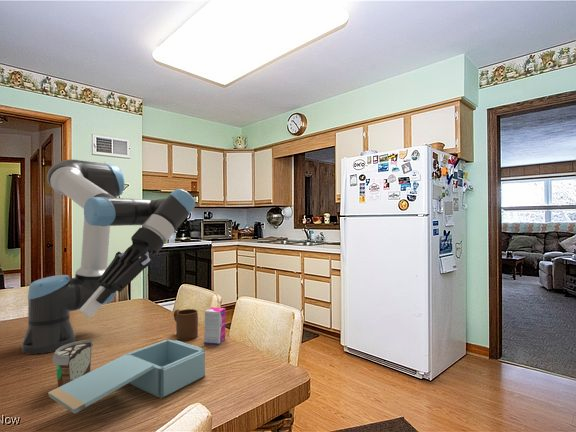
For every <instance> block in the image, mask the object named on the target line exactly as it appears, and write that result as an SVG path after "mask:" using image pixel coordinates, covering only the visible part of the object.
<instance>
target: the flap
mask: <svg viewBox="0 0 576 432" xmlns="http://www.w3.org/2000/svg"><path fill="white" fill-rule="evenodd" d="M127 354H128V353H125V354H123V355H121V356H120V357H117V358H115V359H114V360H112V361H110V362H107V363H105V364H103V365H101V366H98V367H97V368H95V369H93V370H90V372H89V373H87V374H85V375H83V376H81V377H79V378H77V379H75V380H73V381H71V382H69V383H67V384H64V385H62V386H60V387H58V386H57V387H56V388H54V389H52V390H51V391H48V392H47V393H48V397H49V398H51V399H52V400H53V401H55V402H57V403H58V404H60V405H62V407H64V408H65V409H68V411H70V412H71V413H73V414H77V413H79V412H81V411H82V410H85V408H87V407H89V406H91V405H93V403H96V402H97V401H99V400H101V399H103V398H105V397H106V396H108V395H110V394H111V393H113V392H115V391H117V390H119V389H121V388H122V387H123V386H125V385H127V384H129V382H131V381H133V380H134V379H136V378H138V377H140V376H141V375H143V374H145V373H147V372H148V371H150V370H152V369H154V365H152V364H150V363H147V362H145V361H142V360H139V359H137V358H134V357H132V356H129V355H127Z"/></svg>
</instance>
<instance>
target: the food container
mask: <svg viewBox="0 0 576 432" xmlns="http://www.w3.org/2000/svg"><path fill="white" fill-rule="evenodd" d="M93 345H94V343H93V340H92V339H85V340H79V341H75V342H73V343H69V344H66V345H64V346H62V347H60V348H58V349H57V350H56V351H54V353H53V357H52V363H53V364H54V365H55V367H56V368H55V369H56V379H57V388H58V387H60V386H62V385H64V384H67V383H69V382H71V381H73V380H75V379H77V378H79V377H81V376H83V375H85V374H87V373H89V372H91V371H92V370H91V367H92V347H93Z"/></svg>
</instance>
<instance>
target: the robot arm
mask: <svg viewBox="0 0 576 432" xmlns="http://www.w3.org/2000/svg"><path fill="white" fill-rule="evenodd" d="M46 180H47V183H48V186H49V187H50V188H51V189H52V190H53V191H54V192H55V193H57V194H59V195H61V196H65V197H68V199H71V201H72V202H74V203H75V204H77V205H78V206H79V207H81V208H82V209H83V228H82V242H81V243H82V244H81V246H82V247H81V258H80V261H81V262H80V267H79V268H78V269H76V271H75V275H74V276H75V277H73V278H71V277H70V275H68V274H60V275H59V274H58V275H52V276H47V277H42V278H39V279H37V280H34V281H33V282H31V283H30V284H29V286H28V294H27V299H28V302H27V303H28V304H27V306H28V307H27V308H28V309H27V310H28V311H27V312H28V315H27V317H28V318H27V319H28V322H27V323H28V324H27V329H26V332H25V334H24V337H23V339H22V342H21V348H20V349H21V350H22V351H21V352H22V353H23V352H24V353H23V354H26V353H29V355H38V354H37V353H41V354H48V353H52V352H55V351H56V350H57V349H58V348H60V347H62V346H64V345H66V344H69V343H73V342H76V333H75V331H74V327H73V325H72V323H71V319H70V315H71V313H70V312H73V311H79V312H81V313H82V314H83V315H85V317H88V318H89V319H91V318H92V317H93V316H94V315H95V314H96V313H97V312H98V310H99V309H100V308H101V307H102V306H103V305H106V304H109V303H110V302H111V301H113V299H114V298H115V296H116V293H117V292H118V293H121V292H122V291H123V290H124V289H125V288H126V287H127V286H128V285H129V284H130V283H131V282H132V281H133V280H135V278H137V276H138V275H140V273H141V272H143V271H144V269H146V268H147V267H149V266H150V265H152V263H153V260H152V259H151V258H150V257H151V256H156V255H157V254H158V253H159V252H160V250H161V249H162V248H163V247H164V244H166V243H167V242H168V240H170V239H171V237H172V236H173V234H174V233H175V232H176V231H177V230H178V228H179V227H180V226H181V225H182V224H183V222H185V220H186V219H187V218H188V216H190V215H191V212H192V211H193V209H194V208H195V207H196V200H195V199H194V197H193V196H192V194H190V192H188V191H186V190H184V189H181V188H175V189H174V190H173V191H172V192H171V193H169V195H168V196H167V197H163V198H157V199H145V198H144V199H143V198H142V199H141V198H123V197H119V196H121V195H122V194H124V190H125V178H124V174H123V172H122V170H121V169H120V167H119V166H117V165H115V164H111V163H106V162H96V161H89V160H88V161H87V160H80V159H65V160H61V161H58V162H57V163H54V164H53V165H52V166H51V167H50V168H49V170H48V171H47V174H46ZM114 226H115V227H117V226H141V227H139V228H138V229H137V230H136V231H135V233H134V234H133V235H132V236H131V238H130V239H131V243H132V244H131V245H130V246H129V247H127V248H126V250H125V251H124V252H122V253H121V251H117V252H116V253H115V255H114V258H113V259H112V261H111V262H110V263H109V264H108V261H109V260H108V259H109V258H108V257H109V245H110V244H109V243H110V232H111V227H114ZM47 352H48V353H47Z"/></svg>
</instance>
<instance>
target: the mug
mask: <svg viewBox="0 0 576 432" xmlns="http://www.w3.org/2000/svg"><path fill="white" fill-rule="evenodd" d="M198 317H199V313H198V310H197V309H194V308H192V309H191V308H189V309H188V308H187V309H182V310H181V309H174V311H173V319H174V322H176V323H175V327H176V328H175V329H176V330H175V331H176V332H175V333H176V334H175V335H176V338H177V339H176V340H178V341H191V340H195V339H196V338H197V337H198V335H199V334H198V333H199V331H198V330H199V318H198Z"/></svg>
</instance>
